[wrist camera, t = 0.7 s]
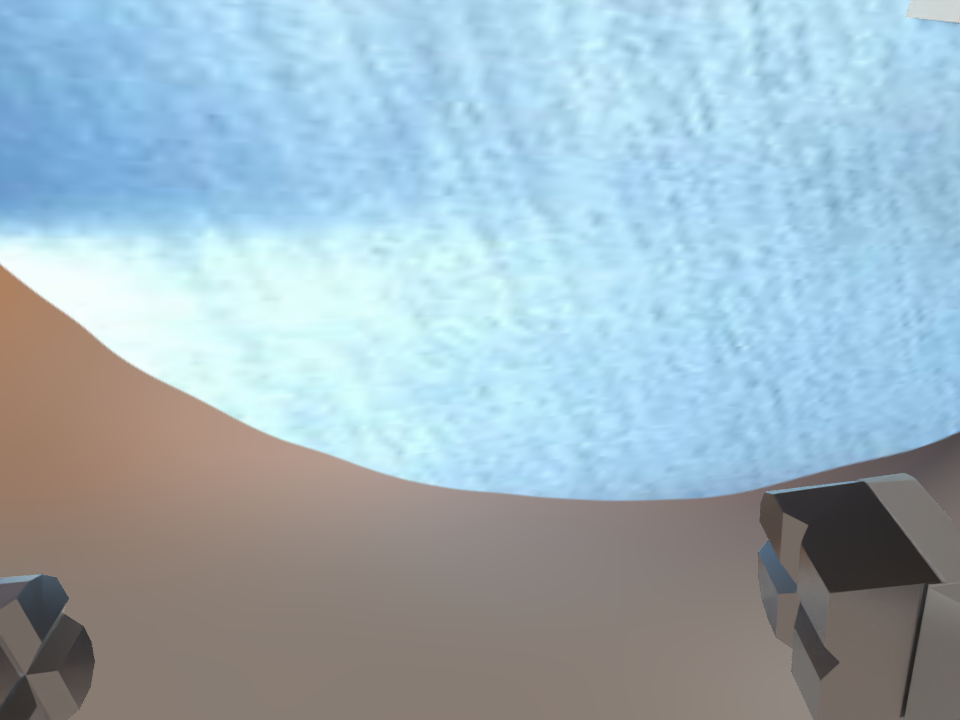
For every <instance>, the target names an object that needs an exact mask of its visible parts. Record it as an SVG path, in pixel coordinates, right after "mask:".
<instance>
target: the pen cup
mask: <svg viewBox="0 0 960 720" xmlns="http://www.w3.org/2000/svg"><path fill="white" fill-rule="evenodd" d="M905 17H908V18H917V19H926V20H934V21H943V22H952V23H960V0H911V1H910V4H909V7H908V10H907V13H906V16H905Z"/></svg>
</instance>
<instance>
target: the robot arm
mask: <svg viewBox="0 0 960 720" xmlns="http://www.w3.org/2000/svg"><path fill="white" fill-rule="evenodd" d="M759 521H760V523H761V525H762V527H763V529H764V531H765V533H766V535H767V537H768V539H769V540H768V541H767V542H766V544H765V545H764V546H763V547H762V548H761V549H760V551H759V552H758V578H759V585H760V591H761V597H762V602H763V604H764V608H765V611H766V614H767V617H768V620H769V622H770V625H771V627H772V629H773V631H774V634H775V636H776V638H778V639H779V640H781V641H782V642H783V643H785V644H787V645H788V646H790V647H791V648H793V652H792V670H791V672H792V674H793V676H794V678H795V680H796V682H797V685H798V687H799V689H800V691H801V693H802V695H803V698H804V700H805V702H806V704H807V706H808V709H809V711H810V713H811V715H812V717H813V719H814V720H960V529H959V528H958V527H957V526H956V524H955V523H954V522H953V521H952V520H951V519H950V518H949V516H948V515H947V514H946V513H945V512H944V511H943V510H942V509H941V507H940V506H939V505H938V504H937V503H936V502H935V501H934V499H933V498H932V497H931V496H930V495H929V494H928V493H927V491H926V490H925V489H924V488H923V487H922V486H921V485H920V483H919V482H918V481H917V480H916V479H915V478H914V477H912V476H910V475H907V474H905V473H901V474H894V475H887V476H880V477H872V478H865V479H858V480H857V481H854V482H853V481H852V482H843V483H835V484H827V485H818V486H810V487H801V488H793V489H784V490H776V491H768V492H764V494H763V496H762V500H761V502H760V519H759ZM68 600H69V597H68V596H67V594H66V592H65V591H64V589H63V587H62V586H61V584H60V582H59V581H58V579H57V578H56V577H52V576H48V575H44V574H38V575H27V576H17V577H6V578H0V720H68V719H69V718H70V717H71V716H72V715H73V714H74V713H76V712H77V711H78V710H79V709H80V707H81V705H82V703H83V701H84V699H85V697H86V695H87V693H88V691H89V689H90V687H91V681H92V675H93V669H94V663H95V660H94V654H93V647H92V642H91V640H90V638H89V636H88V634H87V632H86V630H85V628H84V626H82V625H81V624H79V623H78V622H76V621H75V620H73V619H71V618H70V617H68V616H67V615H65V614H64V612H65V609H66V606H67V603H68Z"/></svg>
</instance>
